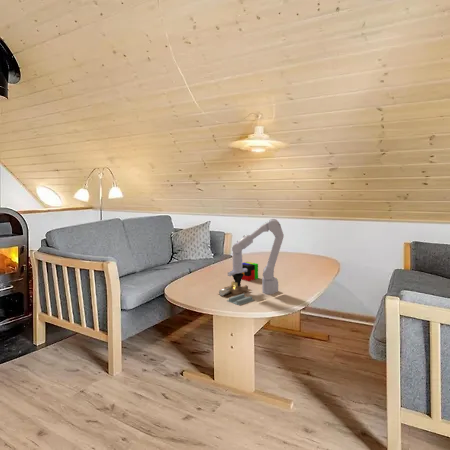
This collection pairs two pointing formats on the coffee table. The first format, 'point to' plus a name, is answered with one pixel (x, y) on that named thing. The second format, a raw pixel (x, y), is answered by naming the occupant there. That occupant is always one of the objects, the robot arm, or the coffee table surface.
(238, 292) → the socket block
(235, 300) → the rack
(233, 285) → the tan blocky piece
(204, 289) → the coffee table surface
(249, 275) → the puzzle toy
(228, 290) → the shiny metal cylinder
